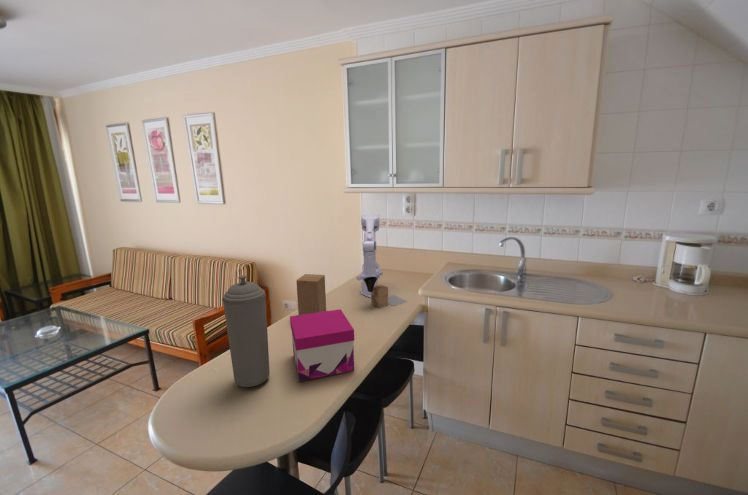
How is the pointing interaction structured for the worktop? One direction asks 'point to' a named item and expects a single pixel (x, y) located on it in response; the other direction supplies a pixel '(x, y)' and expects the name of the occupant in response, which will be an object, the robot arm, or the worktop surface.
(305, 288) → the wooden block
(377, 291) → the brown teal box
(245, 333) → the canister
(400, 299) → the mat
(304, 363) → the decorative box
